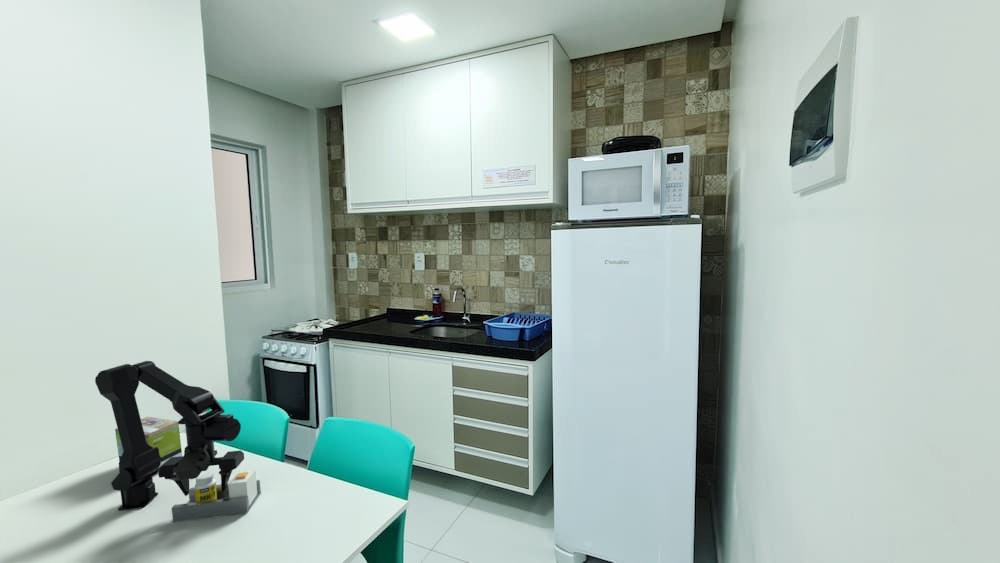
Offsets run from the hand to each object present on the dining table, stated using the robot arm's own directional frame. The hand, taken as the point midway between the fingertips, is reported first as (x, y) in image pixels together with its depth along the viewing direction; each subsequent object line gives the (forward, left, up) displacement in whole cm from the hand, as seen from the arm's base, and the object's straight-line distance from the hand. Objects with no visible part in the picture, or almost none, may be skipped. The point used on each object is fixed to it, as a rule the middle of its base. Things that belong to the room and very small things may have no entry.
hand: (205, 492), depth 113 cm
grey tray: (+3, 0, -4) cm, 5 cm away
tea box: (-30, +28, -5) cm, 41 cm away
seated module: (+10, 0, -4) cm, 11 cm away
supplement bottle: (0, 0, -4) cm, 4 cm away
